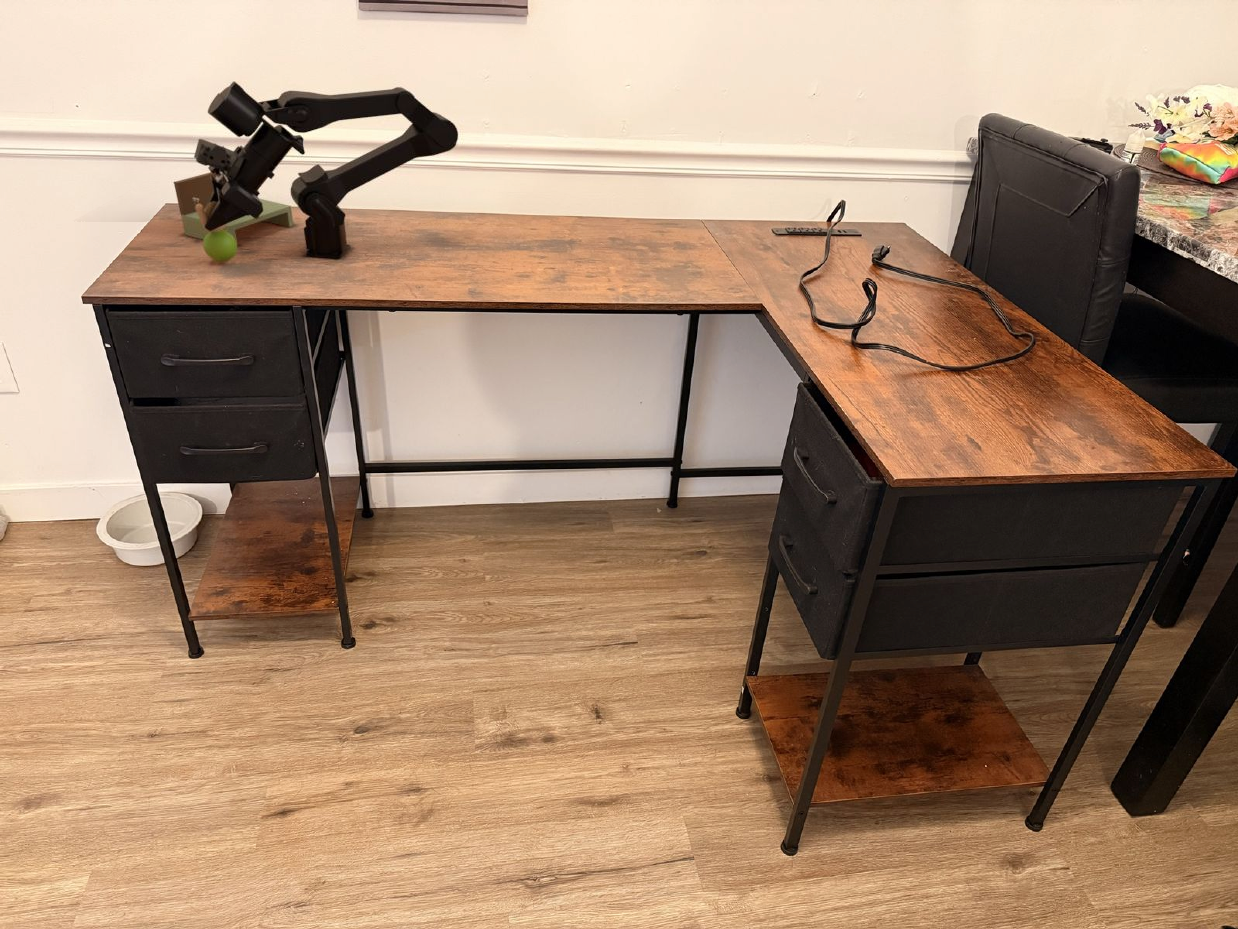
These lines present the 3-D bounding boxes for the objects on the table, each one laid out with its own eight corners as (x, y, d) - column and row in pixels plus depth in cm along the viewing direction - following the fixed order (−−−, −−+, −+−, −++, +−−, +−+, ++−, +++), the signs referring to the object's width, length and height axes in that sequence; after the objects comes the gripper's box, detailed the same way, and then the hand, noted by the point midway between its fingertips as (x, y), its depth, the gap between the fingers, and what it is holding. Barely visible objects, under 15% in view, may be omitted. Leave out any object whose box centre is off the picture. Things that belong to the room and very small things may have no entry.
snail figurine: (196, 264, 150) (180, 195, 143) (220, 253, 155) (206, 186, 148) (222, 269, 148) (208, 200, 142) (246, 257, 154) (233, 190, 147)
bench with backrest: (293, 225, 171) (286, 174, 166) (233, 247, 159) (223, 193, 153) (247, 214, 175) (239, 164, 170) (185, 235, 163) (173, 181, 157)
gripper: (211, 110, 147) (155, 180, 148) (228, 135, 134) (167, 211, 135) (266, 154, 155) (213, 220, 156) (288, 181, 142) (229, 253, 143)
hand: (205, 225), depth 147 cm, fingers closed on snail figurine, 4 cm apart
